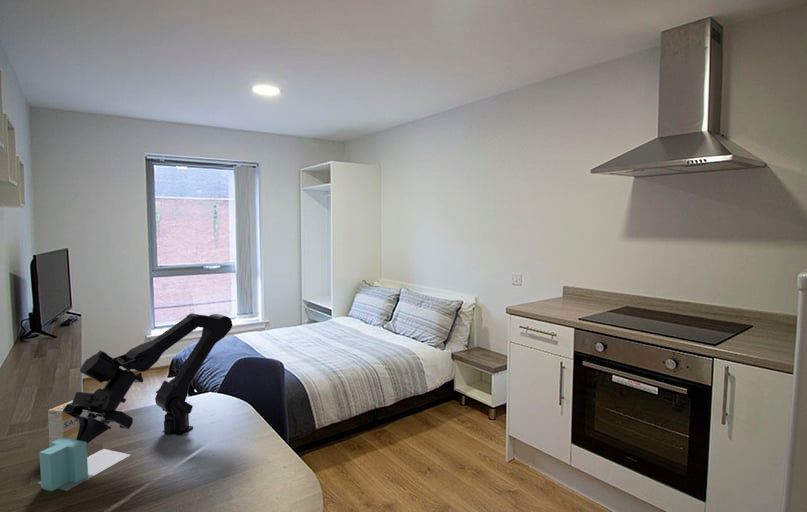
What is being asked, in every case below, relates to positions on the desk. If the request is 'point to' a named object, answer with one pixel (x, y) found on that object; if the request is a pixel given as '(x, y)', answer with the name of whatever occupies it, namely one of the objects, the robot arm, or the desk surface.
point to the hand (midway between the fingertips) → (76, 448)
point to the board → (98, 464)
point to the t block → (63, 463)
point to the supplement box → (62, 424)
